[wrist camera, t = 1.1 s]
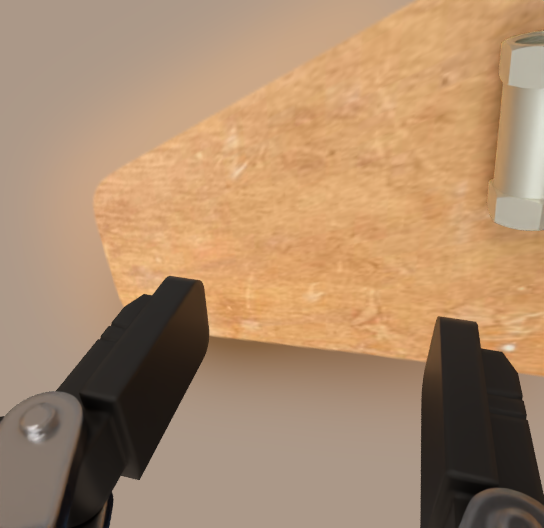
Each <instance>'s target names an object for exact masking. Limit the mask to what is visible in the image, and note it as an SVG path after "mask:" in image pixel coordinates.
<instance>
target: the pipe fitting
mask: <svg viewBox="0 0 544 528" xmlns="http://www.w3.org/2000/svg"><path fill="white" fill-rule="evenodd" d="M499 77H500V79H501V81H502V82H503V88H502V98H501V109H500V119H499V130H498V140H497V151H496V161H495V172H494V178H493V179H491V180H490V181H489V185H488V196H487V207H488V211H489V214H490V216H491V218H492V220H493V221H494V222H495V223H497V224H500V225H502V226H505V227H509V228H512V229H518V230H526V231H540V230H544V30H542V31H535V32H529V33H524V34H519V35H516V36H513V37H510V38H508V39H506V40H505V41H503V42H501V51H500V63H499Z"/></svg>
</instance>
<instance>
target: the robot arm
mask: <svg viewBox="0 0 544 528" xmlns="http://www.w3.org/2000/svg"><path fill="white" fill-rule="evenodd" d="M208 342H209V325H208V316H207V308H206V299H205V291H204V285H203V283H202V282H201V281H200V280H194V279H187V278H181V277H174V276H168V277H167V278H166V279H165V280H164V281H163V282H162V284H161V285H160V286H159V287H158V289H157V290H156V291H155V293H154V294H153V295H146V294H143V295H142V296H140V297H139V298H137V299H136V300H134V301H133V302H131V303H130V304H128V305H126V306H125V307H124V308H123V309H122V310H121V312H120V313H119V314H118V316H117V317H116V318H115V319H114V320H113V322H112V324H111V326H109V327H108V328H107V329H106V330H105V331H104V333H103V334H102V335H101V339H100V340H99V339H98V340H97V341H96V343H95V344H94V345H93V346H92V348H91V349H90V350H89V351H88V352H87V354H86V355H85V356H84V357H83V358H82V360H81V361H80V362H79V364H78V365H77V366H76V367H75V368H74V369H73V371H72V372H71V373H70V375H69V376H68V377H67V378H66V379H65V381H64V382H63V383H62V384H61V386H60V387H59V388H58V389H57V390H56V391H55V392H54V391H53V392H45V393H41V394H37V395H35V396H32V397H30V398H28V399H26V400H24V401H22V402H20V403H19V404H17V405H16V406H15V407H14V408H12V409H11V410H10V411H9V412H8V413H7V414H6V415H5V416H3V417H0V528H109V525H110V520H111V514H112V508H113V494H112V490H113V488H114V487H115V485H116V483H117V481H118V479H119V478H120V476H125V477H129V478H133V479H137V480H140V478H141V476H142V474H143V472H144V471H145V469H146V467H147V465H148V463H149V461H150V459H151V457H152V455H153V453H154V452H155V450H156V448H157V446H158V444H159V442H160V440H161V438H162V436H163V434H164V433H165V430H166V429H167V427H168V425H169V423H170V421H171V419H172V417H173V415H174V414H175V412H176V410H177V408H178V406H179V404H180V402H181V400H182V398H183V396H184V394H185V393H186V390H187V389H188V387H189V385H190V383H191V381H192V379H193V377H194V376H195V374H196V372H197V370H198V368H199V366H200V364H201V362H202V360H203V358H204V356H205V354H206V351H207V347H208ZM422 386H423V387H422V408H421V415H422V416H421V525H420V526H421V527H420V528H544V494H543V490H542V485H541V480H540V476H539V471H538V466H537V462H536V457H535V452H534V448H533V443H532V438H531V433H530V429H529V424H528V420H526V416H527V414H526V410H525V405H524V401H522V391H521V386H520V381H519V376H518V373H517V371H516V370H515V369H514V367H513V366H512V365H511V363H510V362H509V361H508V359H507V358H506V356H505V355H504V354H503V352H499V351H493V350H487V349H481V346H480V338H479V331H478V325H477V323H476V322H474V321H467V320H460V319H453V318H447V317H440V316H438V317H437V320H436V323H435V327H434V332H433V336H432V340H431V345H430V349H429V353H428V358H427V362H426V366H425V371H424V378H423V385H422Z"/></svg>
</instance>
